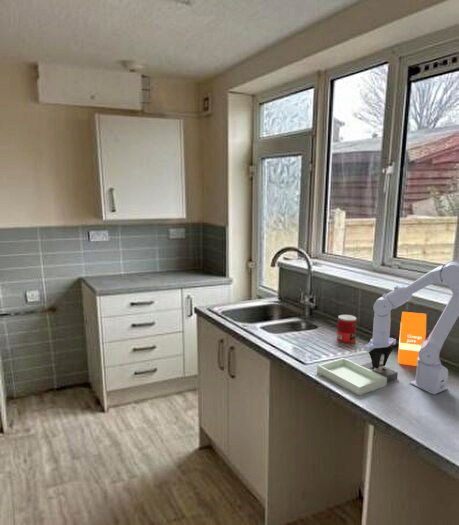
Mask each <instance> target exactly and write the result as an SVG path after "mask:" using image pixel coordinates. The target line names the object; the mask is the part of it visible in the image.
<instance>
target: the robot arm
mask: <svg viewBox="0 0 459 525" xmlns="http://www.w3.org/2000/svg"><path fill="white" fill-rule="evenodd" d="M443 282H444V283H445V284H446V285H447V286H448V287H449V288H450V291H451V293H452V295H451V296H450V299H449V300H448V302H447V303H446V305H445V307H444V309H443V310H442V312H441V315H440V316H439V319H438V320H437V322H436V323H435V326H434V327H433V329H432V331H431V332H430V334H429V335H428V337H426V338H425V340H424V341H423V342H422V343H421V348H420V351H419V353H418V356H419V357H418V358H417V366H416V371H415V379H414V380H411V381H410V382H409V385H410V384H411V385H412V386H415V387H416V388H419V389H421V390H423V391H426V392H428V393H430V394H432V395H437V394H439V393H442V392H444V391H446V390H448V389H449V387H448V378H449V370H448V368H447V367H445V366H444V365H442V362H441V360H440V352H441V350H442V348H443V346H444V343H445V341H446V340H447V337H448V335H449V334H450V332H451V331H452V329H453V327H454V325H455V323H456V321H457V320H458V318H459V261H457V260H449V261H447V262H445V264H444V265H443V264H441V265H438V266H437V267H435V268H433V269H431V270H430V271H428V272H427V273H425V274H423V275H422V276H420V277H418V278H417V279H416V280H414V281H413V282H411V283H410V284H408V285H399V286H398V285H396V286H394V287H393V290H391V291H390V292H388V293H387V294H386V293H384V294H382V296H381V297H379V298H377V299H376V301H375V302H374V304H373V306H372V309H373V312H374V314H373V326H372V338H370V339H369V340H370V341H369V342H368V343H367V344H364V348H363V349H364V351H365V352H368V354H369V356H370V360H371V362H372V365H373V367H375V368H379V363H380V358H381V355H382V354H384V361H383V366H384V367H386V364H387V362H388V359H389V357H390V355H391V353H392V352H393V350H394V347H392V346H391V345H393V346H394V345H396V344H397V339H396V338H393V337H390V336H391V322H392V320H391V311H392V310H393V309H394V310H395V309H397V308H399V307H400V306H402V305H404V304H405V303H407V302H409V301H411V300H412V298H413V295H414V294H416V293H417V292H419V291H421V290H422V289H424V288H426V287H428V286H430V285H432V284H443Z"/></svg>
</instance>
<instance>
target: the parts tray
mask: <svg viewBox="0 0 459 525" xmlns="http://www.w3.org/2000/svg"><path fill="white" fill-rule="evenodd" d="M361 365H362V364H361ZM361 365H360V364H359V363H356V362H354V361H353V360H350V359H347V358H346V357H341V358H337V359H335V360H331V361H327V362H324V363H320V364H317V365H316V369H317V370H316V373H317V374H319V375H320V376H322V377H324V378H325V379H328V380H329V381H332V382H333V383H335V384H337V385H339V386H340V387H342V388H344V389H346V390H348V391H349V392H351V393H353V394H355V395H357V396H358V397H359V396H362V395H364V394H367V393H368V394H369V393H371V392H373V391H376V390H378V389H382V388H384V387H387V383H388V382H387V378H386V377H384V376H382V375H380V374H378V373H376V372H374V371H371V370H369V369H367V368H365V367H363V366H361Z"/></svg>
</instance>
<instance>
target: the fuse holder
mask: <svg viewBox="0 0 459 525" xmlns="http://www.w3.org/2000/svg"><path fill="white" fill-rule="evenodd" d="M361 366H363V367H365V368H367V369H369V370H371V371H374V372H376V373H378V374H380V375H382V376H384V377H386V378H387V383H391V382H393V381H395V380H398V371H395V370H393V369H391V368H389V367H386V366H383V372H380V373H379V372H377V371H375V370H374V369H375V367H373V365H372V361H370V362H367V363H364V364H361Z"/></svg>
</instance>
